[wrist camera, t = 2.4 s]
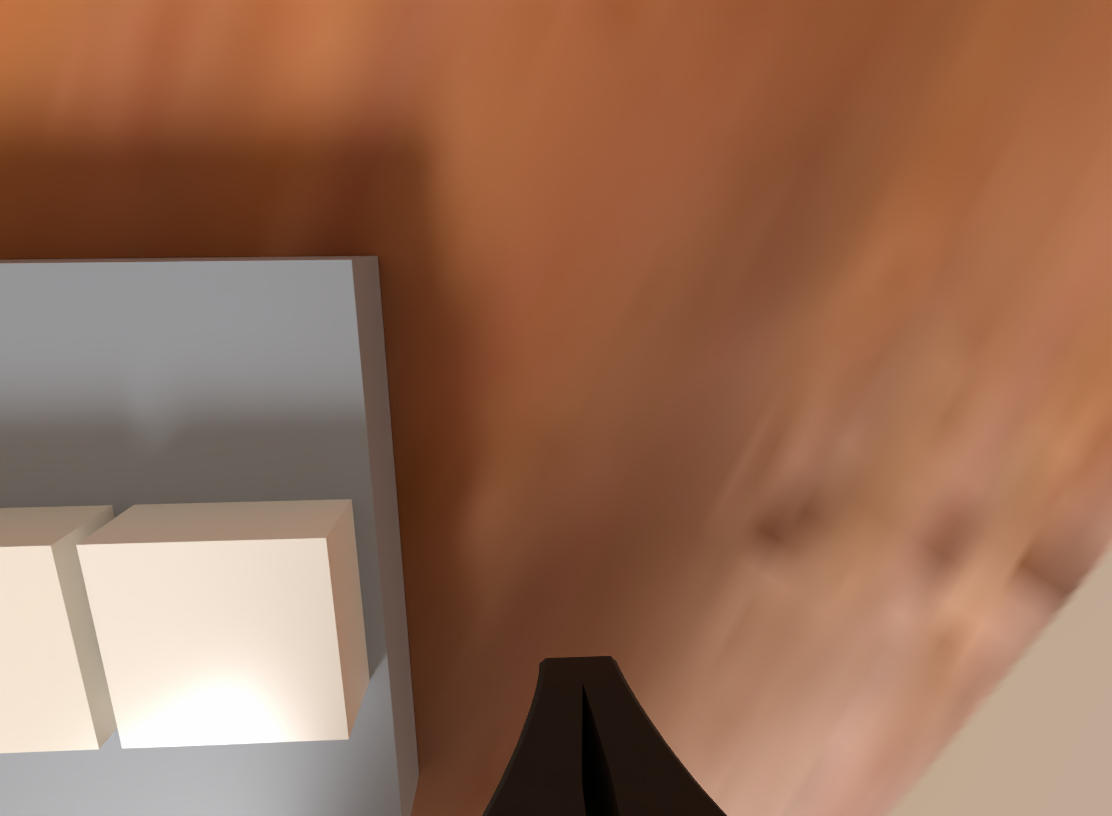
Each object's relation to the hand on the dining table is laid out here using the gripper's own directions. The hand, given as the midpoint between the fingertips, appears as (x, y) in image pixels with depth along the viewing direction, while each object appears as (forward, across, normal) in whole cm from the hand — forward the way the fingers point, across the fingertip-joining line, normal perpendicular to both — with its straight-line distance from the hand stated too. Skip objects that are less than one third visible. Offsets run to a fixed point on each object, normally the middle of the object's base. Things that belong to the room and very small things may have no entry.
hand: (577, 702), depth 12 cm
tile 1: (+4, +8, 0) cm, 9 cm away
